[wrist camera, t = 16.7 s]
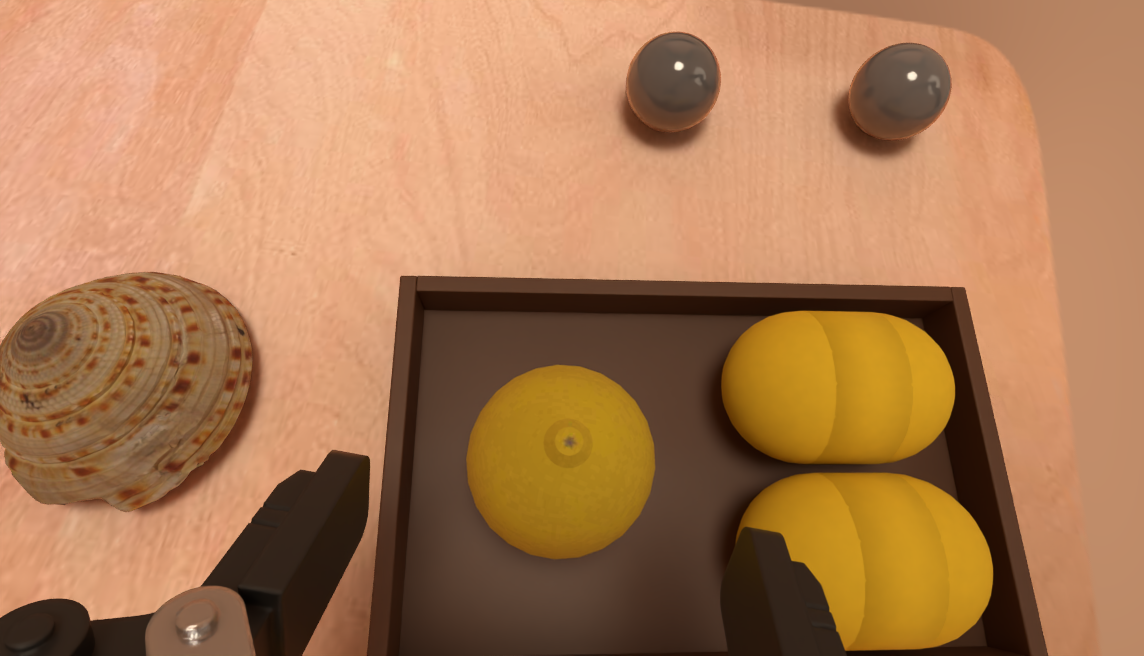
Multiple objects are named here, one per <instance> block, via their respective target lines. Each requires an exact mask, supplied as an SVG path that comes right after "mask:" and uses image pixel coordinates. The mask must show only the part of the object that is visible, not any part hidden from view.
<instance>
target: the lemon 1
mask: <svg viewBox="0 0 1144 656" xmlns="http://www.w3.org/2000/svg"><path fill="white" fill-rule="evenodd" d="M466 462H467V475H468V484H469V487H470V490H471V493H472V496H473V499H474V502H475V505H476V507H477V509H478V510H479V512H480V513H481V515H482V516H483V518H484V519H485V521H486V522H487V524H488V525H489V527H490V528H491V529H492V530H493V531H494V532H496V533H497V534H498V535H499V536H500V537H501V538H502V539H504V540H505V541H506V542H507V543H508V544H510V545H512V546H514V547H516V548H518V549H520V550H522V551H524V552H526V553H528V554H530V555H535V556H540V557H545V558H550V559H566V558H578V557H582V556H584V555H587V554H590V553H593V552H596V551H598V550H601V549H603V548H605V547H606V546H608V545H609V544H611V543H612V542H614V541H615V540H616V539H618V538H619V537H621V536H622V535H623V534H624V533H625V532H626V531H627V530H628V528H629V527H630V526H631V525H632V524H633V523H634V521H635V520H636V519H637V518H638V517H639V515H640V513H641V511H642V509H643V507H644V505H645V503H646V501H647V499H648V497H649V495H650V492H651V487H652V482H653V477H654V472H655V453H654V443H653V439H652V436H651V432H650V429H649V426H648V422H647V420H646V418H645V417H644V415H643V413H642V412H641V410H640V408H639V406H638V405H637V403H636V401H635V400H634V399H633V398H632V397H631V396H630V395H629V394H628V393H627V392H626V391H625V390H624V389H623V388H622V387H621V386H620V385H619V384H617V383H616V382H614V381H612V380H611V379H609V378H608V377H606V376H604V375H603V374H601V373H598V372H595V371H592V370H589V369H586V368H583V367H580V366H568V365H553V366H548V367H542V368H536V369H534V370H531V371H529V372H527V373H524V374H522V375H520V376H517V377H515V378H513V379H512V380H511V381H510V382H508V383H507V384H506V385H504V386H503V387H502V388H500V389H499V390H498V391H497V392H496V393H495V394H494V395H493V396H492V398H491V399H490V400H489V401H488V403H487V404H486V405H485V407H484V408H483V409H482V410H481V412H480V414H479V416H478V418H477V421H476V423H475V425H474V427H473V429H472V432H471V434H470V440H469V445H468V451H467V457H466Z"/></svg>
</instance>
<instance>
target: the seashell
mask: <svg viewBox="0 0 1144 656" xmlns="http://www.w3.org/2000/svg"><path fill="white" fill-rule="evenodd" d="M251 373H252V348H251V342H250V339H249V336H248V333H247V330H246V327H245V324H244V322H243V320H242V318H241V316H240V315H239V313H238V312H237V310H236V309H235V307H234V306H233V305H232V304H231V303H230V302H229V301H228V300H227V299H226V298H224V297H223V296H222V295H221V294H220V293H218V292H217V291H216V290H214V289H212V288H210V287H208V286H206V285H203V284H200V283H197V282H195V281H192V280H189V279H186V278H183V277H181V276H176V275H170V274H164V273H157V272H142V273H129V274H121V275H116V276H110V277H105V278H102V279H97V280H94V281H91V282H88V283H84V284H81V285H78V286H75V287H72V288H69V289H66V290H64V291H62V292H60V293H57V294H55V295H53V296H51V297H49V298H47V299H46V300H44V301H42V302H41V303H39V304H38V305H36V306H35V307H33V308H32V309H30V310H29V311H28V312H27V313H26V314H25V315H23V316H22V317H21V318H20V319H19V320H18V321H17V322H16V324H15V325H14V326H13V327H12V329H11V330H10V331H9V332H8V334H7V335H6V337H5V338H4V340H3V341H2V343H1V345H0V442H1V444H2V445H3V447H4V448H5V452H4V455H5V463H6V465H7V466H8V467H9V468H10V470H11V472H12V475H13V476H14V477H15V479H16V480H17V481H18V482H19V483H20V484H21V485H22V487H23V488H24V489H25V490H26V491H27V492H28V493H29V494H30V495H31V496H32V497H33V498H34V499H35V500H36V501H38V502H40V503H43V504H60V505H65V504H68V503H72V502H78V501H87V500H93V499H99V498H101V499H103V500H104V501H106V502H107V503H109V504H110V505H111V506H113V507H115V508H117V509H119V510H121V511H124V512H129V511H133V510H135V509H137V508H140V507H142V506H144V505H147V504H149V503H152V502H154V501H157V500H158V499H160V498H162V497H163V496H165V495H166V494H167V493H168V491H170V490H172V489H174V488H176V487H178V486H179V485H180V484H181V483H182V482H183V481H184V480H185V479H186V477H187V476H188V474H189V473H190V472H191V471H192V470H193V469H195V468H197V467H199V466H201V465H204V462H205V461H207V460H209V455H211V454H212V453H213V452H215V451H216V450H217V449H218V448H219V447H220V446H221V444H222V443H223V441H224V440H225V438H226V437H227V435H228V434H229V432H230V431H231V429H232V428H233V426H234V424H235V422H236V420H237V418H238V416H239V414H240V412H241V410H242V407H243V404H244V402H245V399H246V396H247V393H248V389H249V385H250V381H251ZM198 463H200V464H199V465H197V464H198Z"/></svg>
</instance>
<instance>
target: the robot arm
mask: <svg viewBox="0 0 1144 656" xmlns="http://www.w3.org/2000/svg"><path fill="white" fill-rule="evenodd" d="M369 479H370V459H369V457H368V456H365V455H359V454H354V453H348V452H343V451H337V450H332V451H331V452H330V453H329V454H328V455H327V457H326V458H325V459H324V461H323V462H322V464H321V465H320V467H319V468H318V470H317V471H316V472H311V471H305V470H299V471H298V472H296V473H295V474H293V475H292V476H290V477H289V478H287V479H286V480H284V481H283V482H281V483H279V484H278V485H277V487H276V488H275V489H274V490H273V492H272V493H271V494H270V496H269V497H268V498H267V500H266V501H265V502H264V505H263V507H261V508H260V509H259V510H258V512H257V513H256V514H255V516H254V517H253V518H252V521H251V523H249V524H248V525H247V526H246V528H245V529H244V530H243V532H242V533H241V534H240V536H239V537H238V538H237V539H236V541H235V542H234V543H233V545H232V546H231V547H230V549H229V550H228V551H227V553H226V554H225V555H224V557H223V558H222V559H221V561H220V562H219V563H218V565H217V566H216V567H215V569H214V570H213V571H212V573H211V574H210V575H209V577H208V578H207V579H206V581H205V582H204V583H203V584H202V585H201V586H200V587H198V588H194V589H191V590H188V591H185V592H183V593H181V594H179V595H177V596H175V597H173V598H172V599H170V600H168V601H167V602H166V603H165V604H163V605H162V606H161V607H160V608H159V609H158V610H157V611H156V612H155V613H151V614H146V615H140V616H131V617H122V618H112V619H103V620H93V621H90V617H89V614H88V611H87V610H86V608H85V607H84V606H83V605H81V604H80V603H78V602H76V601H73V600H68V599H47V600H42V601H37V602H34V603H30V604H27V605H25V606H22V607H20V608H17V609H15V610H13V611H11V612H9V613H8V614H6V615H4V616H3V617H1V618H0V656H302V654H303V652H304V650H305V648H306V646H307V645H308V643H309V641H310V639H311V637H312V635H313V633H314V631H315V629H316V627H317V625H318V623H319V621H320V619H321V617H322V615H323V613H324V611H325V609H326V607H327V605H328V603H329V601H330V599H331V597H332V595H333V594H334V592H335V590H336V588H337V586H338V584H339V582H340V580H341V578H342V576H343V574H344V572H345V570H346V568H347V566H348V564H349V562H350V560H351V558H352V556H353V554H354V552H355V550H356V548H357V546H358V545H359V543H360V540H361V538H362V536H363V533H364V530H365V526H366V522H367V517H368V509H369ZM720 607H721V613H722V619H723V625H724V631H725V636H726V642H727V648H728V654H729V656H847V654H846V651H845V649H844V646H843V643H842V640H841V638H840V635H839V632H837V631H836V624H835V621H834V618H833V616H832V613H831V612H829V608H830V607H829V605H828V602H827V599H826V596H825V594H824V591H823V588H822V585H821V584H820V582H819V581H818V580H817V579H816V577H815V576H814V575H813V574H812V572H811V571H810V570H809V568H808V567H807V566H806V565H805V563H802V562H797V561H791V557H790V554H789V551H788V548H787V545H786V542H785V539H784V537H783V535H782V534H781V533H779V532H773V531H768V530H762V529H757V528H752V527H744V528H743V529H742V530H741V532H740V535H739V537H738V540H737V542H736V545H735V547H734V550H733V553H732V555H731V558H730V560H729V563H728V565H727V568H726V571H725V573H724V576H723V579H722V583H721V590H720Z"/></svg>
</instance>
